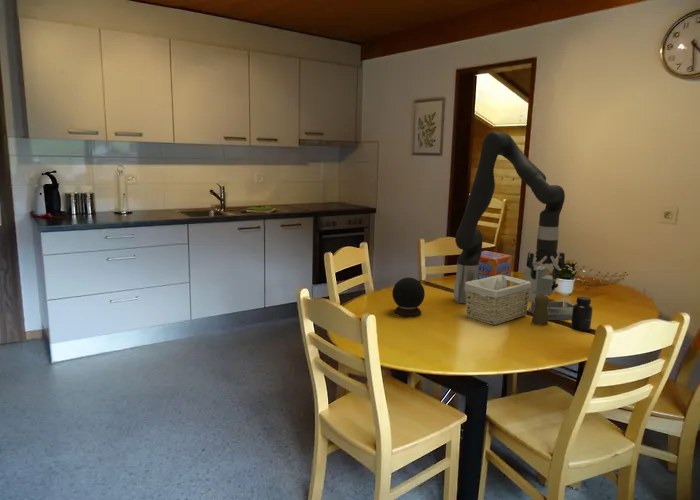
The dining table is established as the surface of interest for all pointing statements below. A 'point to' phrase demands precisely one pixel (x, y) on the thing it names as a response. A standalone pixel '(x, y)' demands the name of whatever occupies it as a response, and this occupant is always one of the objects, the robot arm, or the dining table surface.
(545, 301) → the cork
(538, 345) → the dining table surface
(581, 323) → the supplement bottle
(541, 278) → the circuit breaker
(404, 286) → the black ball on stand
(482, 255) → the game box
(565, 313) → the grey wooden tray
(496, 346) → the dining table surface
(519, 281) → the storage basket
